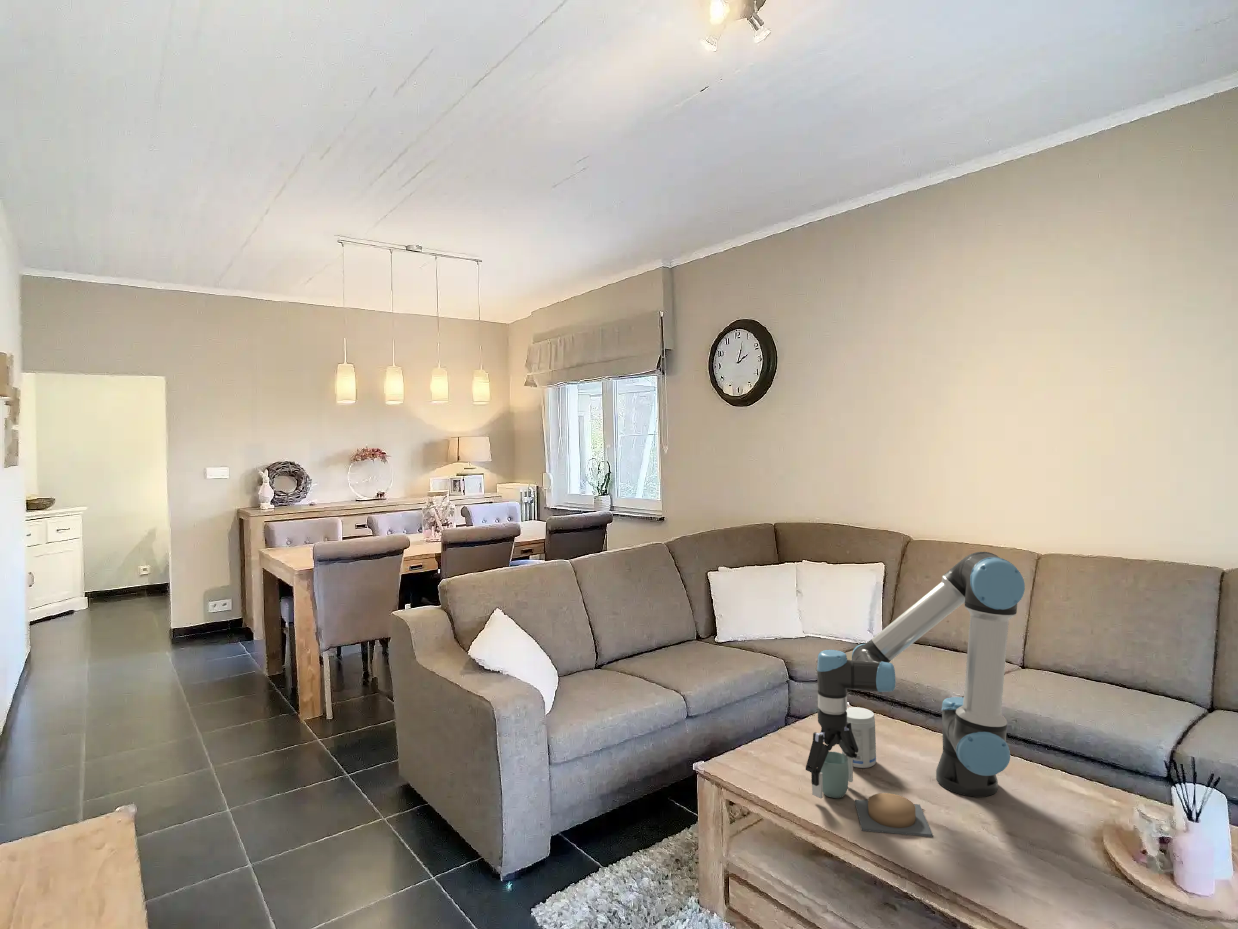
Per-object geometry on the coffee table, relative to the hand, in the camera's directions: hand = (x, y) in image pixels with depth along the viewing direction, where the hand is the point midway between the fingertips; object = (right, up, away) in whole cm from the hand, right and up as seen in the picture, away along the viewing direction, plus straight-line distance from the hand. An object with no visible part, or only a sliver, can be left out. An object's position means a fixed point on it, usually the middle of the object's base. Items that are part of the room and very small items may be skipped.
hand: (832, 788), depth 185 cm
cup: (0, -2, 0) cm, 2 cm away
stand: (+11, -2, -12) cm, 17 cm away
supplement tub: (+13, -1, +19) cm, 23 cm away
